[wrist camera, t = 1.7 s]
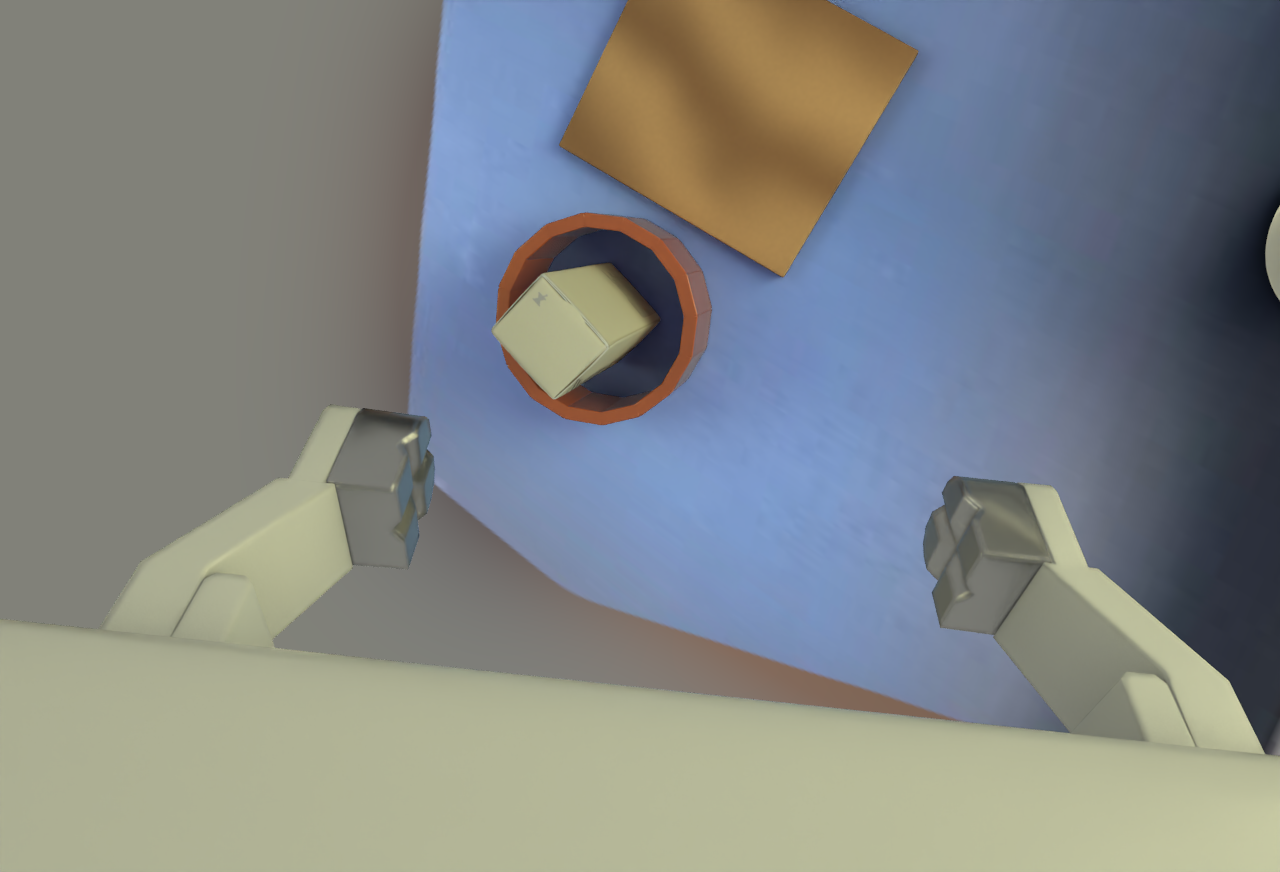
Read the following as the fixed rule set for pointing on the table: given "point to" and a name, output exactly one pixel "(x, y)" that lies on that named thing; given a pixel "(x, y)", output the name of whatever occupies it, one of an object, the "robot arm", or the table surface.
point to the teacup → (1274, 254)
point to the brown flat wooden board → (737, 112)
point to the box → (574, 325)
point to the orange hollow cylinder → (691, 294)
